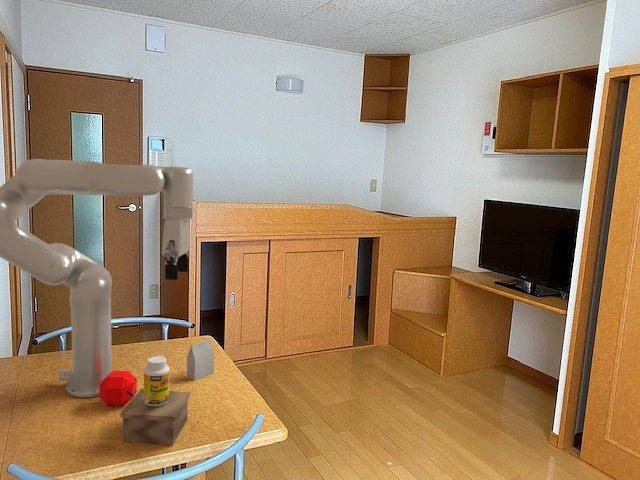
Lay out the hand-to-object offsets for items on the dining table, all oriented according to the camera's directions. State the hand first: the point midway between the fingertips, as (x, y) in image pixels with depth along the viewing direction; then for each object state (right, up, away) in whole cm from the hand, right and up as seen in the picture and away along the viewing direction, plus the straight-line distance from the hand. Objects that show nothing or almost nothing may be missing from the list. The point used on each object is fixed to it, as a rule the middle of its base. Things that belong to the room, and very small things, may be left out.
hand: (177, 275), depth 138 cm
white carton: (+4, -30, +9) cm, 31 cm away
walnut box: (+2, -34, -22) cm, 41 cm away
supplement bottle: (+2, -28, -23) cm, 36 cm away
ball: (-12, -32, -10) cm, 35 cm away
